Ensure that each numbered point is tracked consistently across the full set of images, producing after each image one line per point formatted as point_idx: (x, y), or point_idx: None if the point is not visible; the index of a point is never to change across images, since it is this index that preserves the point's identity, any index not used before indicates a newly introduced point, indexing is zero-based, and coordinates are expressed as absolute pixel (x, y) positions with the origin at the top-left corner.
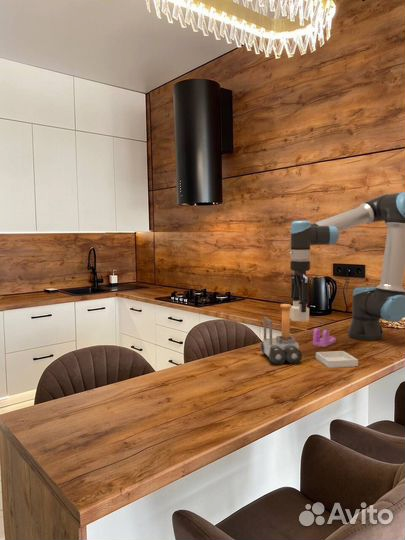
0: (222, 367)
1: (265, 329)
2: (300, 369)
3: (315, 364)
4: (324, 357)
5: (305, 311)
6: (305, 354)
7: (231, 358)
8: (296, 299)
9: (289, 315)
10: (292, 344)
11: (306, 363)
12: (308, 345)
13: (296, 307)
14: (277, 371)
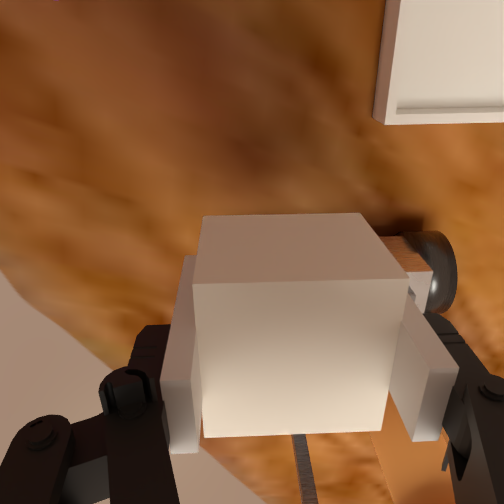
0: (368, 469)
1: (306, 448)
2: (491, 248)
3: (457, 156)
4: (494, 114)
5: (445, 323)
6: (282, 145)
7: (277, 441)
8: (165, 436)
9: (444, 443)
10: (424, 301)
11: (427, 194)
12: (83, 47)
13: (312, 396)
14: (474, 334)
